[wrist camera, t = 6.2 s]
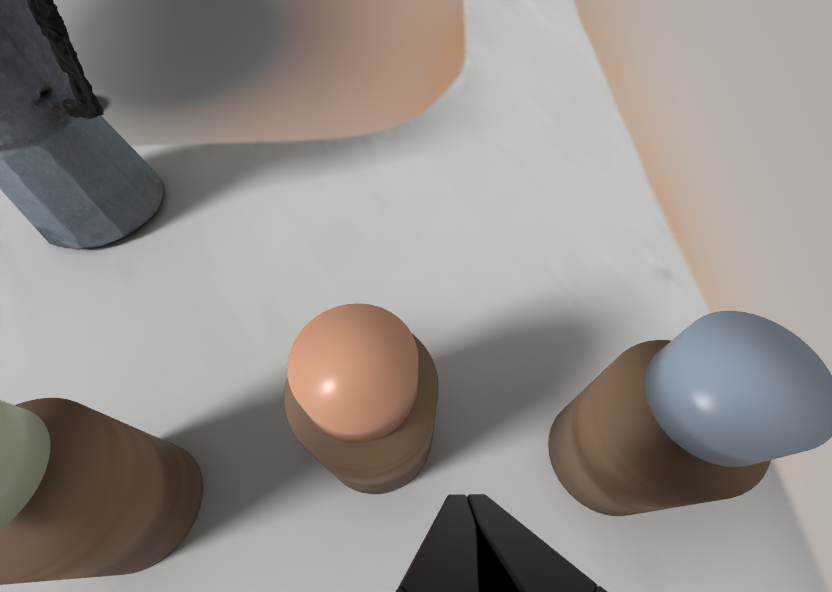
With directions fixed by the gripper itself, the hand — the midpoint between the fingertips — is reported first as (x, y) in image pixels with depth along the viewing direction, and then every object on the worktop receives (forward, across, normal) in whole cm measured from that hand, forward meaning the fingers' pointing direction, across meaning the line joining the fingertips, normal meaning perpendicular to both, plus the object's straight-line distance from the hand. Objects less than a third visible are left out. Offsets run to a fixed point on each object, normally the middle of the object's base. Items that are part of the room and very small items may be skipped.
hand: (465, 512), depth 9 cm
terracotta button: (+7, -3, 0) cm, 8 cm away
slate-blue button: (+6, +9, 0) cm, 11 cm away
